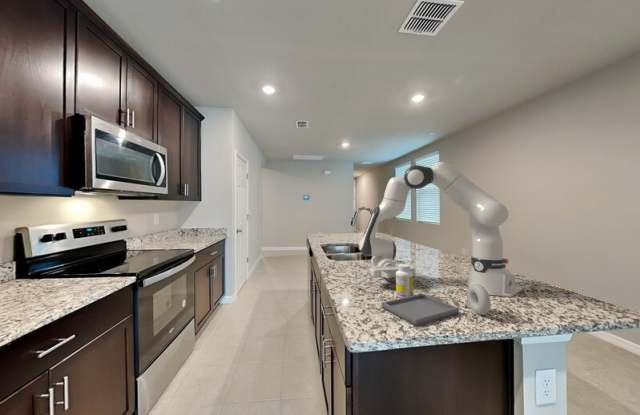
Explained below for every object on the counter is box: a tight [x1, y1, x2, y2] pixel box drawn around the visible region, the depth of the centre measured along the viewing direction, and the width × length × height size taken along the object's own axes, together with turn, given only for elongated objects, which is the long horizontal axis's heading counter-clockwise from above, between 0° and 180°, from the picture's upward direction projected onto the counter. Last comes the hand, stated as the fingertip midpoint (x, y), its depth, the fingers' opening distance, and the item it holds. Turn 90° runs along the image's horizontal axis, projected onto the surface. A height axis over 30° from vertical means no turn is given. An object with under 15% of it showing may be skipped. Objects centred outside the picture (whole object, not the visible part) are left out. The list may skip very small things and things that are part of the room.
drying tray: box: [381, 293, 460, 327], centre depth 89 cm, size 20×16×2 cm
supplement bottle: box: [395, 263, 414, 298], centre depth 103 cm, size 7×7×13 cm
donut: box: [466, 284, 492, 316], centre depth 86 cm, size 10×4×10 cm, turn 179°
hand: (399, 275), depth 109 cm, fingers open, 8 cm apart
